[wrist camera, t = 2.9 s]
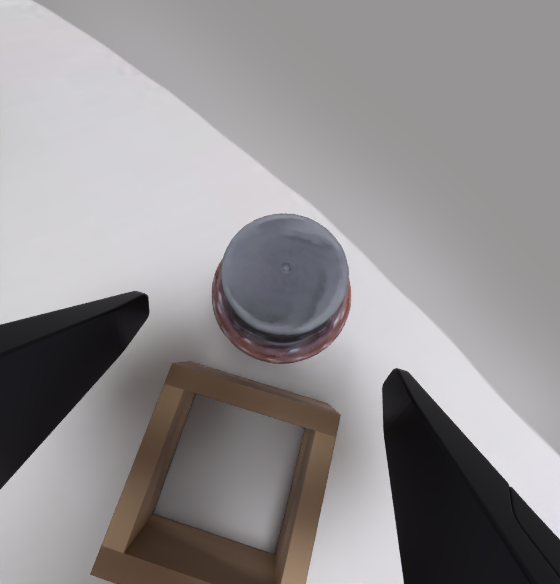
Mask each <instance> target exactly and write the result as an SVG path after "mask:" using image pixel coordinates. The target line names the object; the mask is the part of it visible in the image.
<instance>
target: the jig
mask: <svg viewBox="0 0 560 584" xmlns="http://www.w3.org/2000/svg"><path fill="white" fill-rule="evenodd" d="M195 393H196V394H199V395H202V396H205V397H208V398H212V399H215V400H218V401H221V402H225V403H228V404H231V405H234V406H237V407H241V408H244V409H247V410H250V411H253V412H257V413H260V414H263V415H266V416H269V417H273V418H276V419H279V420H282V421H285V422H289V423H292V424H295V425H298V426H301V427H305V432H304V436H303V440H302V444H301V448H300V453H299V457H298V461H297V465H296V469H295V474H294V478H293V482H292V486H291V491H290V495H289V499H288V503H287V507H286V512H285V516H284V520H283V524H282V528H281V533H280V537H279V541H278V545H277V549H276V554H275V555H273V554H270V553H267V552H264V551H261V550H258V549H255V548H252V547H249V546H246V545H243V544H241V543H238V542H235V541H232V540H229V539H226V538H223V537H220V536H217V535H214V534H211V533H208V532H205V531H202V530H199V529H196V528H193V527H190V526H187V525H184V524H181V523H178V522H175V521H172V520H169V519H166V518H163V517H160V516H157V515H154V514H153V511H154V509H155V506H156V503H157V500H158V497H159V494H160V492H161V489H162V486H163V483H164V480H165V478H166V475H167V472H168V469H169V466H170V463H171V461H172V458H173V455H174V452H175V449H176V447H177V444H178V441H179V438H180V435H181V432H182V430H183V427H184V424H185V421H186V418H187V416H188V413H189V410H190V407H191V404H192V401H193V399H194V396H195ZM339 420H340V414H339V413H338V412H337V411H335V410H334V409H333V408H332V407H331V406H330V405H329V404H326V403H323V402H320V401H317V400H313V399H310V398H307V397H304V396H300V395H297V394H294V393H290V392H287V391H284V390H281V389H277V388H274V387H271V386H268V385H264V384H261V383H258V382H255V381H251V380H248V379H245V378H242V377H238V376H235V375H232V374H229V373H225V372H222V371H219V370H216V369H212V368H209V367H206V366H203V365H199V364H196V363H193V362H190V361H188V362H179V363H172V366H171V368H170V371H169V373H168V376H167V378H166V381H165V384H164V386H163V389H162V391H161V394H160V396H159V399H158V402H157V404H156V407H155V409H154V412H153V414H152V417H151V420H150V422H149V425H148V427H147V430H146V432H145V435H144V437H143V440H142V443H141V445H140V448H139V450H138V453H137V455H136V458H135V461H134V463H133V466H132V468H131V471H130V473H129V476H128V479H127V481H126V484H125V486H124V489H123V491H122V494H121V497H120V499H119V502H118V504H117V507H116V509H115V512H114V515H113V517H112V520H111V522H110V525H109V527H108V530H107V532H106V535H105V538H104V540H103V543H102V545H101V548H100V550H99V553H98V556H97V558H96V561H95V563H94V566H93V568H92V571H91V574H90V575H93V576H96V577H99V578H101V579H104V580H107V581H110V582H113V583H116V584H306V580H307V575H308V570H309V565H310V560H311V556H312V551H313V546H314V541H315V536H316V531H317V526H318V522H319V517H320V512H321V507H322V502H323V497H324V493H325V488H326V483H327V478H328V473H329V468H330V463H331V459H332V454H333V449H334V444H335V439H336V434H337V430H338V425H339Z"/></svg>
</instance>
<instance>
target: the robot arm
mask: <svg viewBox="0 0 560 584" xmlns="http://www.w3.org/2000/svg"><path fill="white" fill-rule="evenodd" d="M148 316H149V301H148V296H147V294H145V293H142V292H138V291H132V292H128V293H124V294H120V295H116V296H112V297H108V298H104V299H101V300H97V301H93V302H89V303H85V304H81V305H77V306H73V307H69V308H65V309H61V310H57V311H53V312H49V313H45V314H41V315H37V316H33V317H29V318H25V319H21V320H17V321H13V322H9V323H5V324H1V325H0V489H1V488H2V487H3V486H4V485H5V484H6V483H7V481H8V480H9V479H10V478H11V477H12V476H13V475H14V474H15V472H16V471H17V470H18V469H19V468H20V467H21V466H22V465H23V464H24V462H25V461H26V460H27V459H28V458H29V457H30V456H31V455H32V453H33V452H34V451H35V450H36V449H37V448H38V447H39V446H40V444H41V443H42V442H43V441H44V440H45V439H46V438H47V437H48V436H49V434H50V433H51V432H52V431H53V430H54V429H55V428H56V427H57V425H58V424H59V423H60V422H61V421H62V420H63V419H64V418H65V417H66V415H67V414H68V413H69V412H70V411H71V410H72V409H73V408H74V406H75V405H76V404H77V403H78V402H79V401H80V400H81V399H82V398H83V396H84V395H85V394H86V393H87V392H88V391H89V390H90V389H91V387H92V386H93V385H94V384H95V383H96V382H97V381H98V380H99V378H100V377H101V376H102V375H103V374H104V373H105V372H106V371H107V370H108V368H109V367H110V366H111V365H112V364H113V363H114V362H115V361H116V359H117V358H118V357H119V356H120V355H121V354H122V352H123V351H124V350H125V349H126V347H127V346H128V345H129V343H130V342H131V340H132V339H133V338H134V336H135V335H136V334H137V332H138V331H139V329H140V328H141V327H142V325H143V324H144V322H145V321H146V320H147V318H148ZM382 398H383V429H384V440H385V447H386V455H387V462H388V469H389V477H390V484H391V491H392V499H393V506H394V513H395V521H396V528H397V535H398V543H399V550H400V557H401V565H402V572H403V579H404V584H560V539H559V538H558V537H557V536H556V535H555V534H554V533H553V532H552V531H551V530H550V529H549V528H548V526H547V525H546V524H545V523H544V522H543V521H542V520H541V519H540V518H539V517H538V516H537V514H536V513H535V512H534V511H533V510H532V509H531V508H530V507H529V506H528V505H527V504H526V502H525V501H524V500H523V499H522V498H521V497H520V496H519V495H518V494H517V492H516V491H515V490H514V489H513V488H512V487H510V486H509V484H508V482H507V481H506V480H505V479H504V478H503V477H502V476H501V475H500V474H499V472H498V471H497V470H496V469H495V468H494V467H493V466H492V465H491V464H490V462H489V461H488V460H487V459H486V458H485V457H484V456H483V455H482V454H481V452H480V451H479V450H478V449H477V448H476V447H475V446H474V445H473V443H472V442H471V441H470V440H469V439H468V438H467V437H466V436H465V435H464V433H463V432H462V431H461V430H460V429H459V428H458V427H457V426H456V425H455V423H454V422H453V421H452V420H451V419H450V418H449V417H448V416H447V415H446V413H445V412H444V411H443V410H442V409H441V408H440V407H439V406H438V405H437V403H436V402H435V401H434V400H433V399H432V398H431V397H430V396H429V394H428V393H427V392H426V391H425V390H424V389H423V388H422V387H421V386H420V384H419V383H418V382H417V381H416V380H415V379H414V378H413V377H412V376H411V374H410V373H409V372H407V371H405V370H401V369H398V368H395V369H393V370H392V372H391V373H390V375H389V376H388V377H387V379H386V380H385V382H384V384H383V387H382Z"/></svg>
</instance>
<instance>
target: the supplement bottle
mask: <svg viewBox="0 0 560 584" xmlns="http://www.w3.org/2000/svg"><path fill="white" fill-rule="evenodd" d="M348 276H349V268H348V264H347V260H346V256H345V253H344V251H343V249H342V247H341V245H340V244H339V242H338V241H337V240H336V238H335V237H334V236H333V235H332V234H331V233H330V231H328V230H327V229H326V228H325V227H323V226H322V225H320V224H319V223H317V222H315V221H314V220H311V219H309V218H307V217H303V216H299V215H295V214H273V215H268V216H264V217H262V218H259V219H257V220H254V221H253V222H251V223H249V224H248V225H246V226H244V227H243V228H242V229H241V230H240V231H239V232H238V233H237V234H236V235H235V236H234V238H233V239H232V240H231V242H230V244H229V245H228V247H227V249H226V251H225V254H224V257H223V259H222V260H221V262H220V264H219V266H218V268H217V270H216V273H215V276H214V280H213V283H212V304H213V310H214V314H215V317H216V320H217V323H218V324H219V327H220V329H221V330H222V331H223V333H224V334H225V335H226V337H227V338H228V339H229V340H230V341H231V342H232V344H234V345H235V346H236V347H237V348H238V349H239V350H241V351H242V352H244V353H246V354H247V355H249V356H251V357H253V358H255V359H258V360H261V361H265V362H270V363H277V364H285V363H293V362H298V361H301V360H305V359H307V358H310V357H312V356H314V355H316V354H318V353H320V352H321V351H322V350H324V349H325V348H327V347H328V346H329V345H330V344H331V343H332V342H333V341H334V340H335V339H336V337H337V336H338V335H339V334H340V332H341V331H342V328H343V327H344V325H345V322H346V320H347V317H348V314H349V311H350V305H351V287H350V281H349V277H348Z"/></svg>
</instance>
